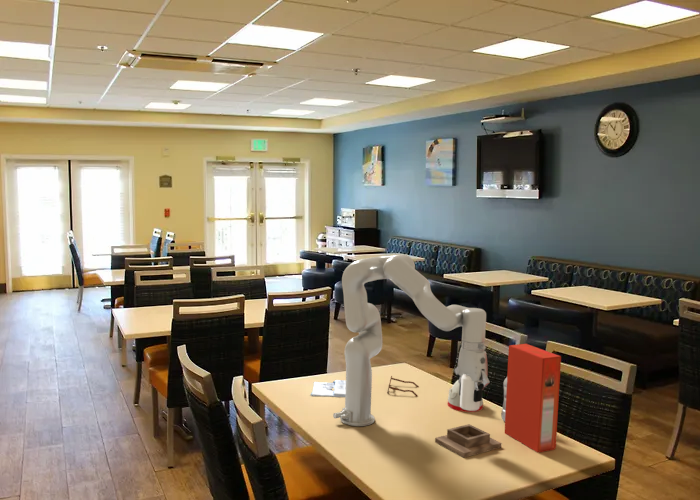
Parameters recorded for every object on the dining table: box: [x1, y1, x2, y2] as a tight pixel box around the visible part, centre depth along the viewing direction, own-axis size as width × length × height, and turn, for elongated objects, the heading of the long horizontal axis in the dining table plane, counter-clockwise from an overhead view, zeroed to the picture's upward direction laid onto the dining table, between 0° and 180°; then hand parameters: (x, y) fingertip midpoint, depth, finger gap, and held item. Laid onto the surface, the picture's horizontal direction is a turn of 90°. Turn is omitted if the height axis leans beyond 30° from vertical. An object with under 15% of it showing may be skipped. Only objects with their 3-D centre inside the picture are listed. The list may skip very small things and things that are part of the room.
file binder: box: [504, 343, 562, 453], centre depth 211 cm, size 8×17×32 cm, turn 23°
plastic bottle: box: [501, 376, 507, 422], centre depth 229 cm, size 6×7×20 cm
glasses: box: [386, 375, 420, 397], centre depth 262 cm, size 13×13×5 cm
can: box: [460, 373, 480, 412], centre depth 206 cm, size 6×6×12 cm
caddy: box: [434, 424, 502, 458], centre depth 207 cm, size 17×14×4 cm
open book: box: [310, 379, 346, 398], centre depth 261 cm, size 19×20×2 cm
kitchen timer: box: [447, 379, 484, 413], centre depth 245 cm, size 14×14×15 cm
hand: (470, 397), depth 206 cm, fingers closed on can, 6 cm apart
